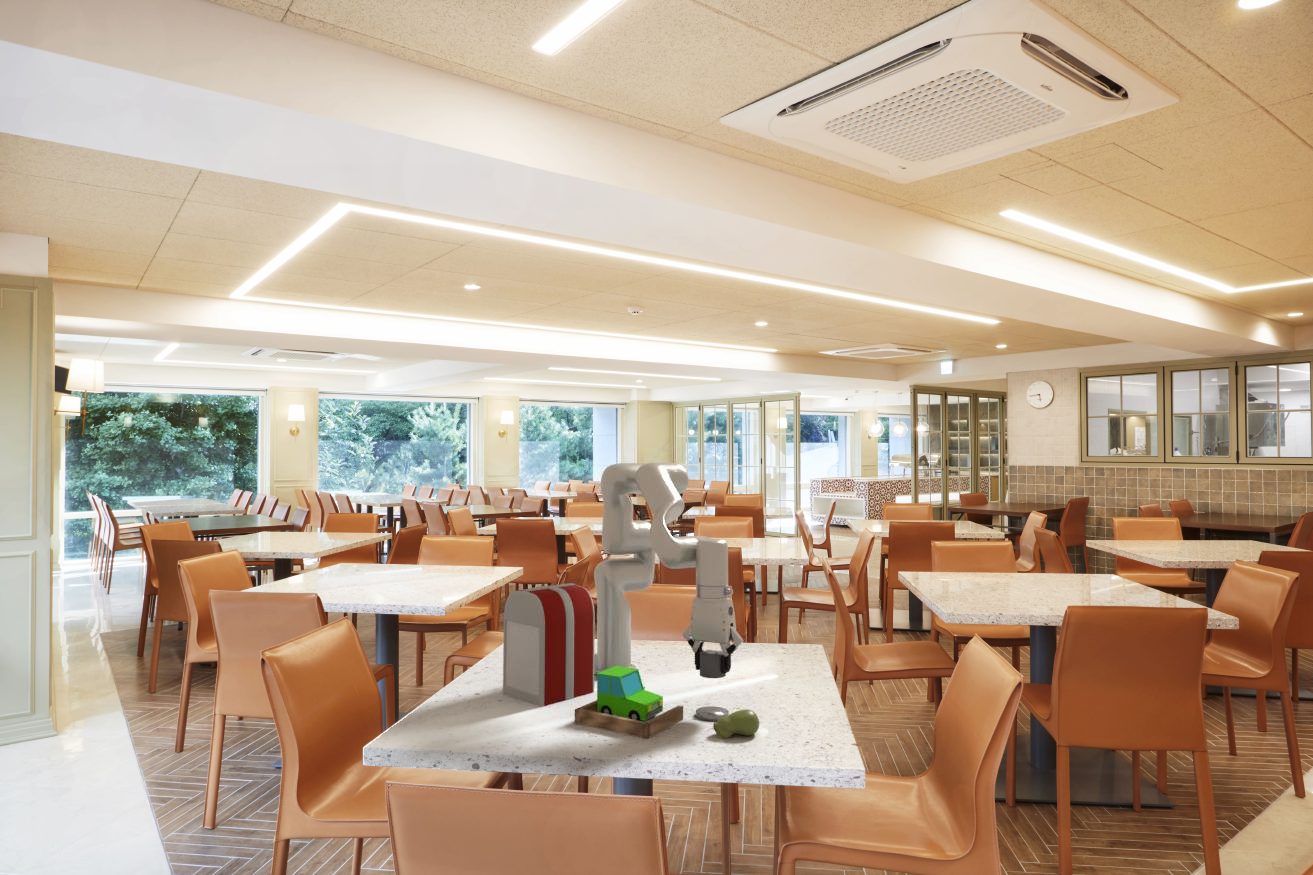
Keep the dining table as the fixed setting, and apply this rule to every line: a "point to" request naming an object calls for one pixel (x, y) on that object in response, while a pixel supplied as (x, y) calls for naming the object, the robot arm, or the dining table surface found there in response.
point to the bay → (627, 721)
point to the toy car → (626, 694)
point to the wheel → (711, 664)
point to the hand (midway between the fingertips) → (712, 669)
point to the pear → (737, 724)
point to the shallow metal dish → (711, 713)
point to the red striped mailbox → (549, 644)
